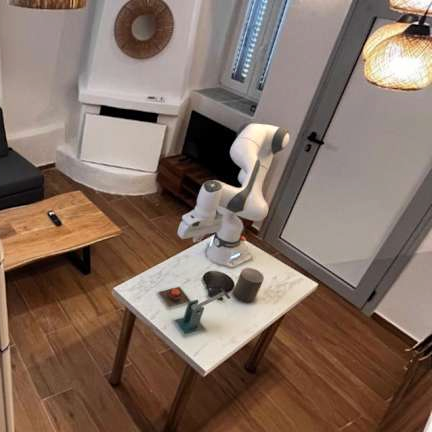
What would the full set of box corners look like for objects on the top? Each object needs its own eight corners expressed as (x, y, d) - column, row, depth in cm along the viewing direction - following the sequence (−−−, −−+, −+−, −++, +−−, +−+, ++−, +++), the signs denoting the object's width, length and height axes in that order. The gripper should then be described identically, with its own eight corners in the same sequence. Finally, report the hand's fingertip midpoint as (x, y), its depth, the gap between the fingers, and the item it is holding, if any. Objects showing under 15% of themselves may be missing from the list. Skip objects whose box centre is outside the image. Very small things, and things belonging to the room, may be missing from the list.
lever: (222, 289, 170) (221, 286, 169) (230, 298, 166) (230, 295, 164) (188, 306, 170) (188, 302, 168) (196, 315, 166) (195, 312, 164)
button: (176, 290, 187) (176, 287, 186) (180, 295, 184) (181, 293, 183) (169, 292, 186) (170, 289, 185) (173, 297, 183) (174, 294, 182)
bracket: (193, 316, 178) (200, 295, 170) (204, 330, 172) (212, 309, 164) (174, 321, 176) (180, 300, 168) (184, 336, 170) (191, 314, 162)
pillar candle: (241, 304, 184) (250, 282, 175) (228, 289, 192) (237, 267, 183) (259, 301, 186) (270, 278, 177) (246, 286, 193) (256, 263, 184)
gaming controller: (224, 301, 184) (217, 293, 183) (213, 305, 187) (206, 297, 185) (221, 286, 192) (214, 278, 190) (211, 290, 195) (204, 283, 193)
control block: (178, 289, 192) (180, 284, 190) (189, 302, 185) (190, 297, 183) (158, 294, 189) (159, 289, 187) (168, 308, 182) (169, 303, 180)
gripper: (219, 208, 175) (211, 232, 184) (179, 216, 170) (172, 241, 179) (228, 216, 170) (220, 241, 179) (187, 224, 166) (180, 250, 174)
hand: (196, 241), depth 179 cm, fingers closed
